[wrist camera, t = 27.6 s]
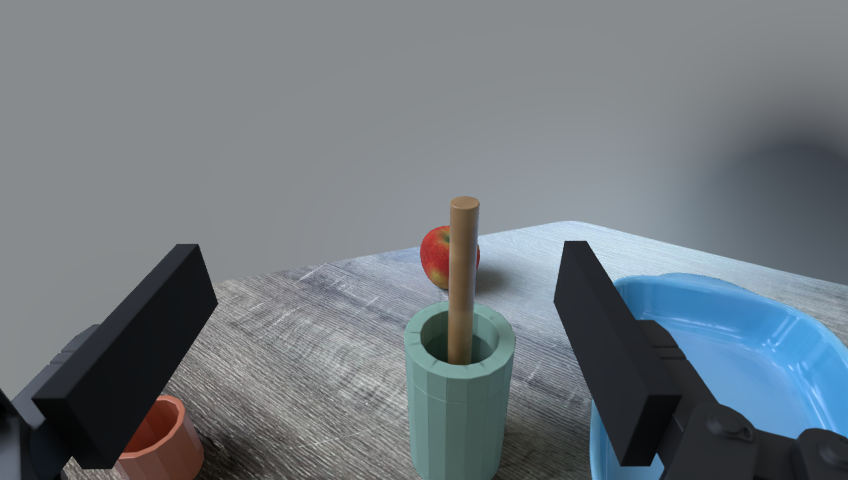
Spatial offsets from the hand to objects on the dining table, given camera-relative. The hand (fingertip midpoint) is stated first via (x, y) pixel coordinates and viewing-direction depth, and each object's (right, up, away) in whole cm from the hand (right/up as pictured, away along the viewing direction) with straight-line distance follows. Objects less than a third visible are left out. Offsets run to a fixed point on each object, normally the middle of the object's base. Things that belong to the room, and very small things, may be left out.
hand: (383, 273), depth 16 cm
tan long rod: (+4, -17, +23) cm, 29 cm away
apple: (+5, -5, +45) cm, 46 cm away
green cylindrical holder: (+4, -18, +23) cm, 30 cm away
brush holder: (-21, -19, +22) cm, 36 cm away
